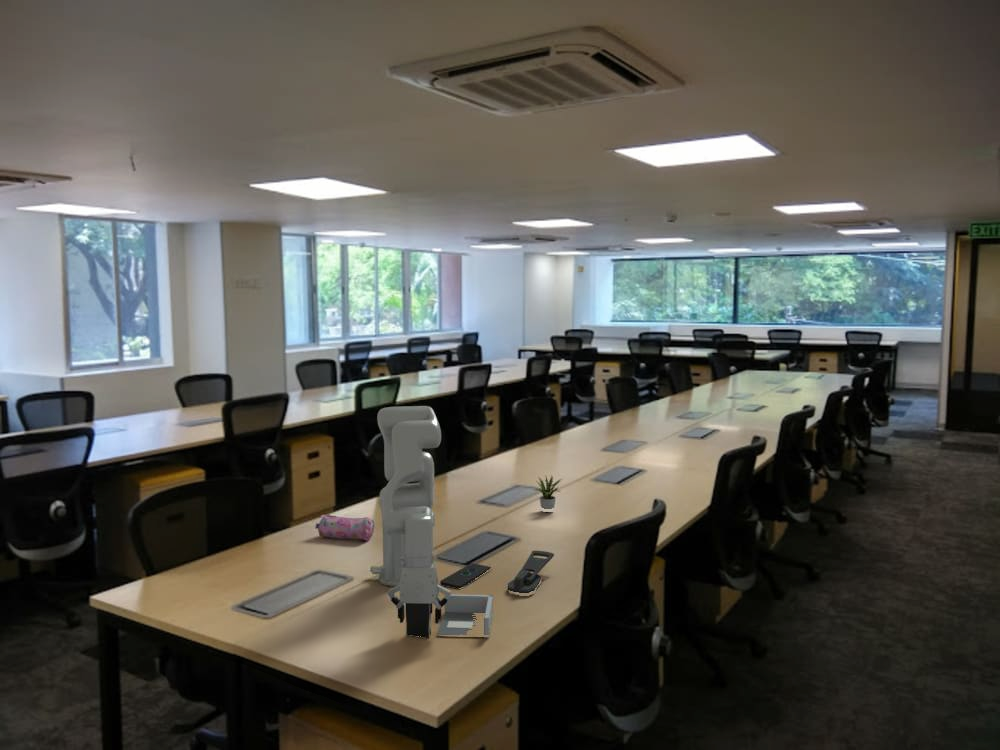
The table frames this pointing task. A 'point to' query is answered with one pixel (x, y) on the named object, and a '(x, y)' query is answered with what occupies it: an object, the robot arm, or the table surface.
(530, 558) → the zipper pull
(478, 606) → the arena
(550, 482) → the house plant
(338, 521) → the pencil case
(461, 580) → the smart home device
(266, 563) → the table surface
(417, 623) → the battery charger
